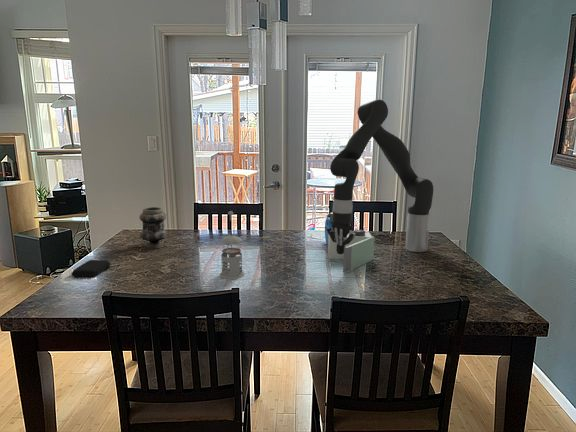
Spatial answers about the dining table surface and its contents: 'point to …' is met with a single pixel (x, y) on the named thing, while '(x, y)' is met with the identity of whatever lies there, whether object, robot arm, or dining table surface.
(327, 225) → the alarm clock
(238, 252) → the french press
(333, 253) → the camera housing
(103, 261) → the carrying case or bag
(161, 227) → the apothecary jar
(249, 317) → the dining table surface
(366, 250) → the side door
